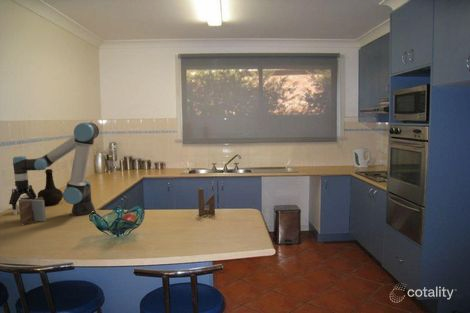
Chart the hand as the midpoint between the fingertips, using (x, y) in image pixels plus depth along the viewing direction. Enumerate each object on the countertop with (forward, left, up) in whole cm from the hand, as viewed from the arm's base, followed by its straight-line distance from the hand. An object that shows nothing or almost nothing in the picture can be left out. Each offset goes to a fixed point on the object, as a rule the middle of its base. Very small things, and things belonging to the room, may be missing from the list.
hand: (24, 211), depth 235 cm
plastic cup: (+17, -21, -6) cm, 27 cm away
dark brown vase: (+17, -43, -6) cm, 46 cm away
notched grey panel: (-6, 0, -6) cm, 9 cm away
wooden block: (-116, -31, -6) cm, 121 cm away
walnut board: (-6, 0, -6) cm, 9 cm away
